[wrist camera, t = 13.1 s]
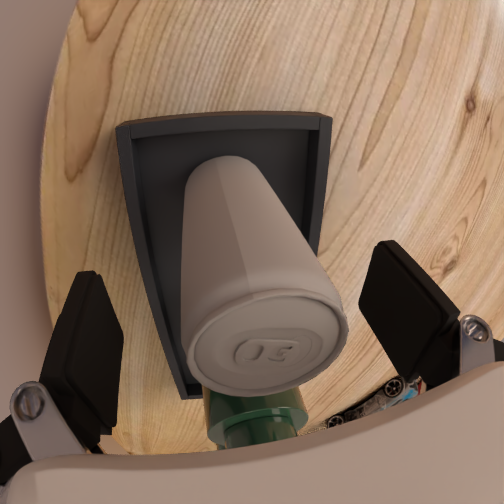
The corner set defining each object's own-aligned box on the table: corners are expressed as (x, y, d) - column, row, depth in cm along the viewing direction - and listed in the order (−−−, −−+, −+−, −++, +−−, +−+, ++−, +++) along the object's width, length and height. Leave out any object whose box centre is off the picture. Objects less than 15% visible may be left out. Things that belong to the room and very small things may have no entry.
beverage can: (250, 232, 19) (309, 396, 10) (177, 218, 18) (172, 395, 8) (274, 163, 17) (383, 297, 7) (195, 143, 16) (199, 274, 6)
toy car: (417, 377, 41) (429, 399, 37) (339, 427, 46) (347, 449, 42) (405, 368, 38) (419, 393, 33) (318, 423, 42) (327, 448, 38)
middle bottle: (199, 320, 23) (226, 530, 10) (191, 268, 20) (216, 527, 7) (263, 313, 24) (324, 511, 10) (265, 261, 21) (353, 498, 8)
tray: (180, 383, 29) (181, 400, 27) (123, 121, 15) (114, 127, 13) (287, 370, 30) (292, 385, 29) (318, 112, 16) (333, 117, 15)
